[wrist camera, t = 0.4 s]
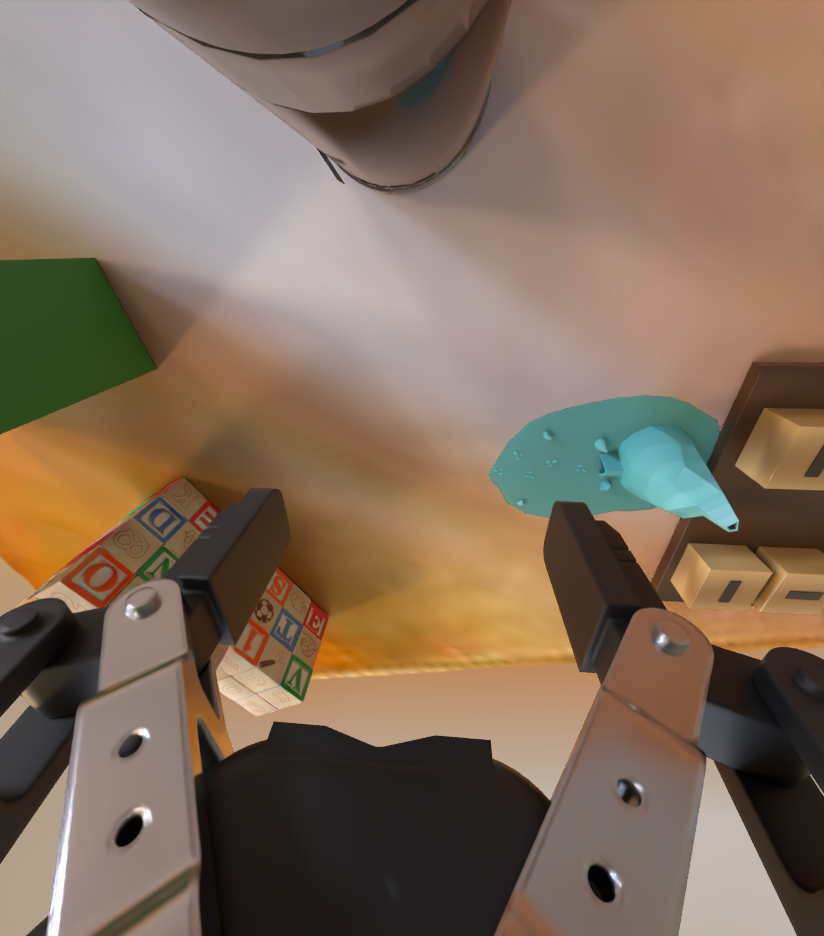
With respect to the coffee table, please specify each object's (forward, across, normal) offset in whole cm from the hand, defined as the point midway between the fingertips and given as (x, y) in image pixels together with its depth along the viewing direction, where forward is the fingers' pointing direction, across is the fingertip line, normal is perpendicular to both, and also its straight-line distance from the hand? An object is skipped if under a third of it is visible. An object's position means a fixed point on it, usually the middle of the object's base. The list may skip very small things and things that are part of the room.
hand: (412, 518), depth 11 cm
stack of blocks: (+18, +19, +21) cm, 33 cm away
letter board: (+17, -31, +10) cm, 37 cm away
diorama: (+18, -13, +8) cm, 23 cm away
